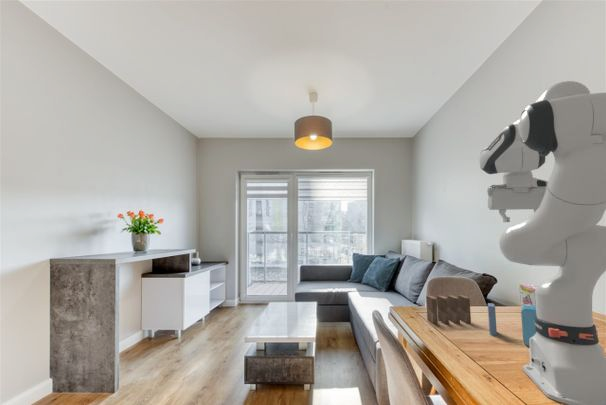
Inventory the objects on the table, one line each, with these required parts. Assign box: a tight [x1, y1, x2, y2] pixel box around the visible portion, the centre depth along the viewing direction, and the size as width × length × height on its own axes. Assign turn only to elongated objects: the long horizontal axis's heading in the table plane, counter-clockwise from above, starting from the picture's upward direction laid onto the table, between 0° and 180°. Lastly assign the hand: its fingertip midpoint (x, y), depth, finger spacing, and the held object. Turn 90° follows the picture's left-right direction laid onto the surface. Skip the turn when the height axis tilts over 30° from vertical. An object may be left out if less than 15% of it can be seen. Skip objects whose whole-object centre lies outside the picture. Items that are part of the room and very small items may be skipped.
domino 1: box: [425, 295, 439, 325], centre depth 122 cm, size 2×5×10 cm, turn 2°
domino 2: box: [436, 295, 450, 325], centre depth 123 cm, size 2×5×10 cm, turn 2°
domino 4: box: [457, 294, 472, 324], centre depth 123 cm, size 2×5×10 cm, turn 2°
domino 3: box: [446, 294, 461, 325], centre depth 123 cm, size 2×5×10 cm, turn 2°
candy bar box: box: [519, 284, 538, 311], centre depth 108 cm, size 11×5×16 cm, turn 168°
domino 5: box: [487, 302, 498, 337], centre depth 109 cm, size 2×5×10 cm, turn 152°
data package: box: [520, 306, 537, 348], centre depth 96 cm, size 12×4×12 cm, turn 52°
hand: (520, 222), depth 108 cm, fingers open, 8 cm apart
